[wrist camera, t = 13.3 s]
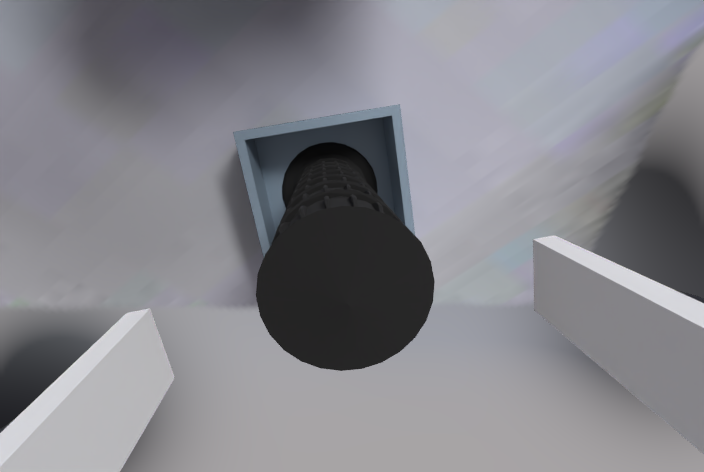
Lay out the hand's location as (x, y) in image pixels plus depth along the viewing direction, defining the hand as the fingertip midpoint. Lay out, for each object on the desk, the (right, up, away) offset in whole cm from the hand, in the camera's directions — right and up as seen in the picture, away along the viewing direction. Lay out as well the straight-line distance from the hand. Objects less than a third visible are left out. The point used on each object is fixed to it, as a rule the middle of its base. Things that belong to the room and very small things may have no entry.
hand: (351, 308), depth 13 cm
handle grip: (-2, +7, +26) cm, 27 cm away
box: (-2, +7, +27) cm, 28 cm away
